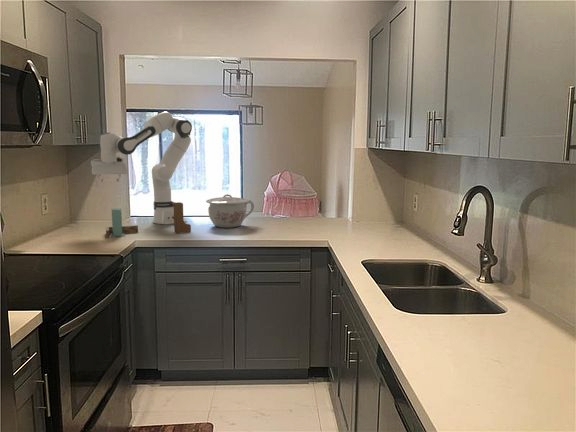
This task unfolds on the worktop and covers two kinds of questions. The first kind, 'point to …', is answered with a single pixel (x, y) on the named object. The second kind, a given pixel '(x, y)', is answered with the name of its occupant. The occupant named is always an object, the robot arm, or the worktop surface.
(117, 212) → the painted block
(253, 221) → the worktop surface
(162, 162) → the robot arm
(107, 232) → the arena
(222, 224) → the chamber pot
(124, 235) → the pad
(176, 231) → the wooden block
